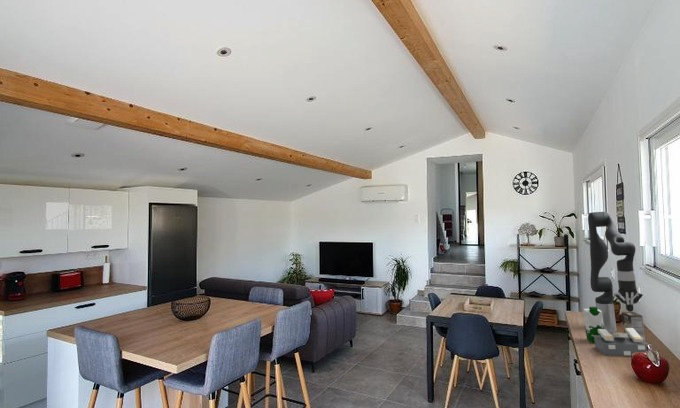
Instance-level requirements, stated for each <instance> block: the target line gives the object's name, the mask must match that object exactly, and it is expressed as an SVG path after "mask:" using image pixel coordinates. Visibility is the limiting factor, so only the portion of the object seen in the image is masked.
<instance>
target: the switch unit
mask: <svg viewBox="0 0 680 408" xmlns="http://www.w3.org/2000/svg"><path fill="white" fill-rule="evenodd" d="M613 337H614V341H606V340H605V339H604V338H603V337H602V336H594V341H595V343H594V348H595V347H596V348H595V349H596V350H597V351H599V352H600V353H601V354H602V355H604V357H605V356H606V357H607V356H609V357H633V356H632V354H633V353H635V352H644V353H645V352H646V351H647V345H649V346H650V344H649V343H648V342H646V341H645V342H644V341H643V342H634V341H633V340H632V338H631V337H615V336H613Z"/></svg>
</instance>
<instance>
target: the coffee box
mask: <svg viewBox="0 0 680 408" xmlns="http://www.w3.org/2000/svg"><path fill="white" fill-rule="evenodd" d="M621 316H622V317H621V318H622V326H623V333H627V332H626V331H625V328H634V330H635V331H636V332H637V333H638V334H639V335H640V336H641V338H642V339H643V341H644V342H646V338H645V327H644V319H643V315H641V314H639V313H637V312H635V311H632V312H629V311H623V312H621ZM627 335H628V334H627ZM628 337H630V336H629V335H628Z"/></svg>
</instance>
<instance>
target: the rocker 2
mask: <svg viewBox="0 0 680 408" xmlns="http://www.w3.org/2000/svg"><path fill="white" fill-rule="evenodd" d="M611 335H612V336H613V337H628V335H627V333H624V332H611Z"/></svg>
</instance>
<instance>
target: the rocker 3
mask: <svg viewBox="0 0 680 408" xmlns="http://www.w3.org/2000/svg"><path fill="white" fill-rule="evenodd" d="M625 331H626V332H627V334H628V335H629V336H630V337H631V338H632V340H633V341H634V342H643V339H642V338H641V336H640V335H639V334H638V333H637V332H636V331H635V330H634V328H625Z"/></svg>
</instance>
